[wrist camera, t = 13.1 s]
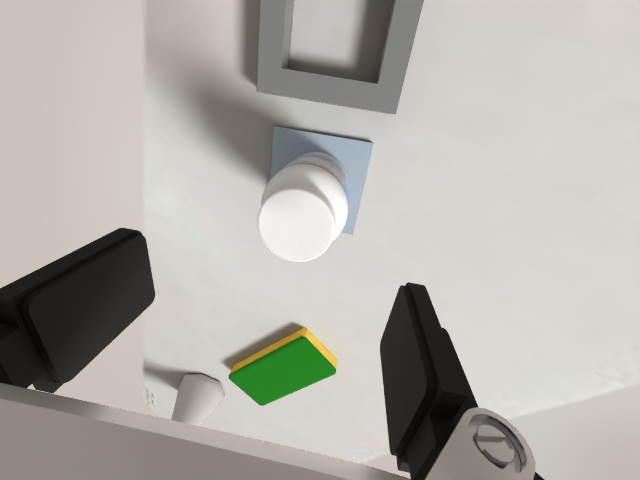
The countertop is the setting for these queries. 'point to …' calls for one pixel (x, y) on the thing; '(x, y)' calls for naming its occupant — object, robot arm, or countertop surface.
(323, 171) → the pill bottle
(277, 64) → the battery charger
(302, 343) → the dish sponge
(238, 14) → the countertop surface
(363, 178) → the slate mat
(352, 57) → the countertop surface
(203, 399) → the flask
